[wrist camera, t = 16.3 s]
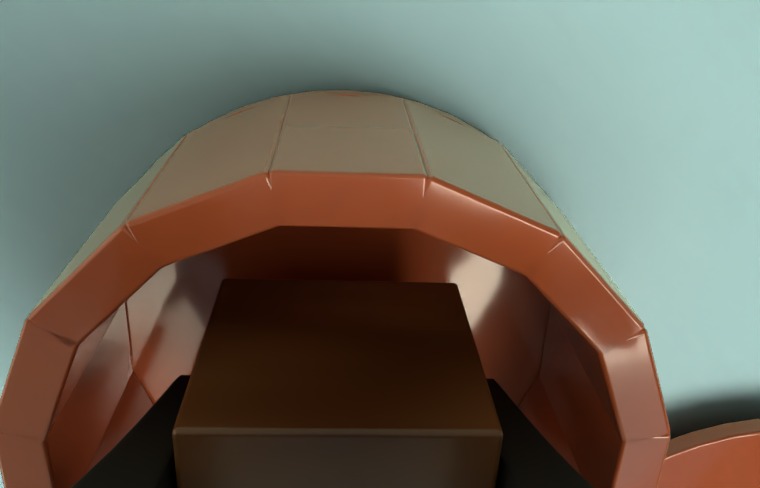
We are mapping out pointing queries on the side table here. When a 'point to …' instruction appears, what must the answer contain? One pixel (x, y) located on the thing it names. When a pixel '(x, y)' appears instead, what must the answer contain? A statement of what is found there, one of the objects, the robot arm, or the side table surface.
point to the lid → (714, 457)
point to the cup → (333, 262)
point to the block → (337, 390)
